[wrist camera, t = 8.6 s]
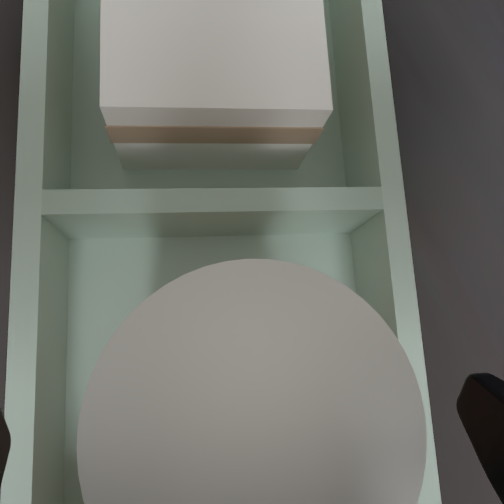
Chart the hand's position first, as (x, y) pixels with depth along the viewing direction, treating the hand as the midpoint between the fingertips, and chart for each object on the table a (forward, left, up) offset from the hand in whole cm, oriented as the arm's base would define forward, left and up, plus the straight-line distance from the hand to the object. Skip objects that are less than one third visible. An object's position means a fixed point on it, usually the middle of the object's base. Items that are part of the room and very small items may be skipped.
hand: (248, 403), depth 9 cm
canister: (0, 0, -9) cm, 9 cm away
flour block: (+9, +8, -9) cm, 14 cm away
